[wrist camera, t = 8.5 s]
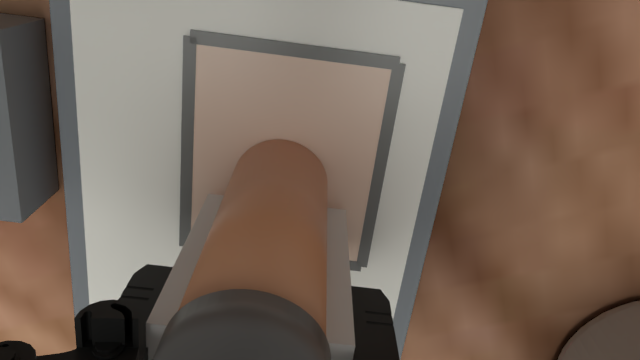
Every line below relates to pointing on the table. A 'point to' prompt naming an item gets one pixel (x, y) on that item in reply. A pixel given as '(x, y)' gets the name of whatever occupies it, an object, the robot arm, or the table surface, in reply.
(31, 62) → the button housing
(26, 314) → the table surface
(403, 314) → the picture board
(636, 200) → the table surface
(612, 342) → the coffee cup
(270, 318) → the marker
